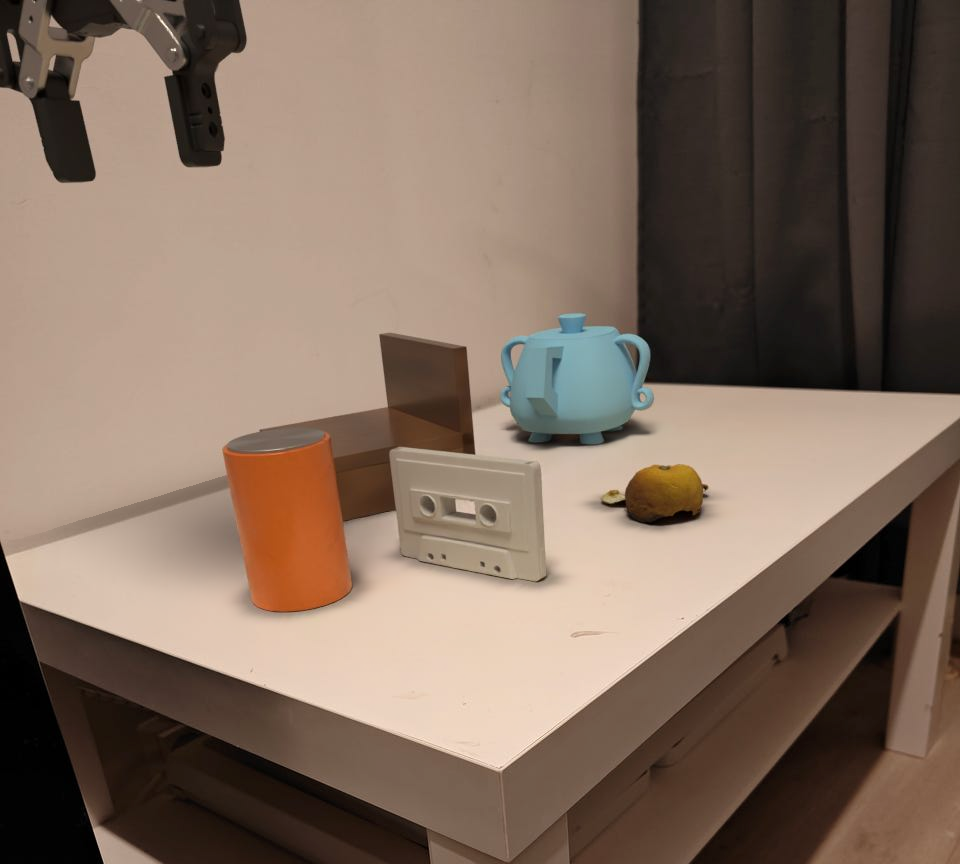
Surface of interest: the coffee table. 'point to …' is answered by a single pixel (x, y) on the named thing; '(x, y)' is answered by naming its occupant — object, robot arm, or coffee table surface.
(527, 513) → the cassette
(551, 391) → the teapot
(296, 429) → the can
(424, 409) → the shelf
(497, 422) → the coffee table surface
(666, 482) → the fruit
